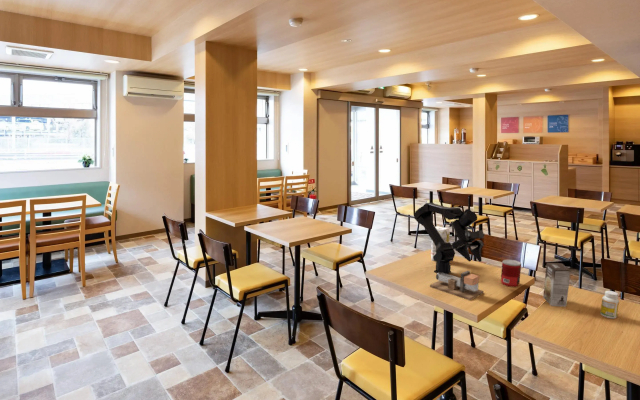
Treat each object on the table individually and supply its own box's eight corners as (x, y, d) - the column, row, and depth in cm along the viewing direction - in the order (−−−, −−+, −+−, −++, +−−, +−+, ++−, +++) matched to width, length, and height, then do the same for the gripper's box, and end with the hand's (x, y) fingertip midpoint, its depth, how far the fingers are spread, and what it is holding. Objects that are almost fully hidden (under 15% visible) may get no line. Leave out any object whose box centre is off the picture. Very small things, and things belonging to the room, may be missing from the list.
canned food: (521, 287, 182) (523, 265, 180) (502, 286, 184) (504, 264, 182) (516, 281, 189) (518, 260, 188) (498, 280, 191) (500, 259, 189)
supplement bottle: (608, 319, 151) (611, 295, 149) (596, 313, 156) (599, 290, 155) (620, 318, 152) (623, 294, 150) (608, 312, 157) (611, 289, 156)
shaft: (435, 280, 185) (436, 272, 184) (440, 278, 187) (440, 271, 187) (473, 292, 171) (474, 284, 170) (478, 290, 173) (478, 282, 172)
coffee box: (542, 297, 172) (545, 262, 169) (558, 298, 170) (561, 262, 168) (550, 306, 163) (554, 269, 160) (567, 307, 161) (571, 270, 159)
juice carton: (443, 263, 216) (445, 230, 213) (429, 260, 222) (430, 227, 219) (449, 260, 222) (451, 227, 218) (435, 257, 227) (436, 225, 224)
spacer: (463, 283, 173) (464, 276, 172) (470, 279, 177) (471, 273, 176) (472, 285, 170) (472, 279, 169) (479, 282, 174) (479, 275, 173)
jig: (429, 286, 183) (430, 267, 181) (443, 280, 191) (444, 262, 189) (469, 300, 168) (471, 279, 166) (483, 293, 176) (484, 272, 174)
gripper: (464, 221, 177) (479, 253, 169) (485, 224, 188) (500, 254, 181) (445, 232, 184) (458, 263, 177) (466, 235, 195) (480, 264, 188)
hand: (475, 261), depth 180 cm, fingers open, 9 cm apart
